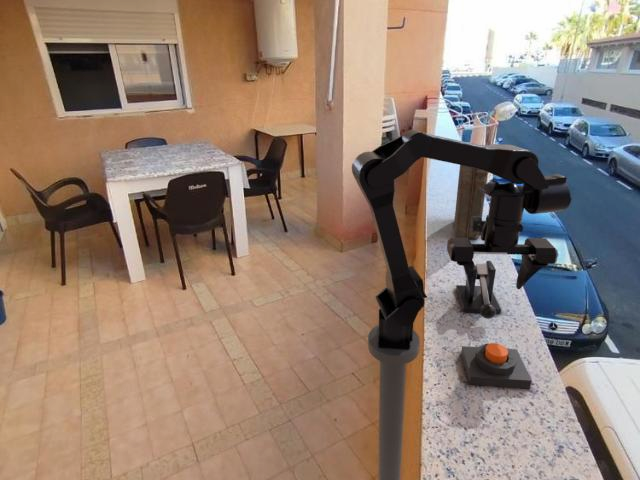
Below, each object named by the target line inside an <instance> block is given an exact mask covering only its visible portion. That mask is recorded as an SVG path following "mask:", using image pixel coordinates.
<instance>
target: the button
mask: <svg viewBox="0 0 640 480" xmlns="http://www.w3.org/2000/svg"><path fill="white" fill-rule="evenodd" d="M487 344H488V345H487V346H486V351H485V357H486V358H487V359H488V360H489V361H490V362H493V363H496V364H503V363H505V362H506V360H507V355H508V350H507V349H508V348H507V347H506V346H505V345H502V344H500V343H497V342H490V343H487ZM505 347H506V348H507V349H506V348H505Z"/></svg>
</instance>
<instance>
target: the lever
mask: <svg viewBox="0 0 640 480" xmlns="http://www.w3.org/2000/svg"><path fill="white" fill-rule="evenodd" d="M475 266H476V268H477V273H476V280H478V281H479V286H480V287H481V293H482V299H483V305H482V306H481V307H480V313H479V314H480V316H481V317H482V318H484V319H486V320H487V319H488V320H491V319H493V318H494V317H495V316H496V309H495V307H494V306H493V305H491V304H490V302H489V297H488V291H487V285H486V278H487V275H488V271H487V266H486V263H476V264H475Z"/></svg>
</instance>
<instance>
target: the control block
mask: <svg viewBox="0 0 640 480" xmlns="http://www.w3.org/2000/svg"><path fill="white" fill-rule="evenodd" d="M488 344H489V343H484V344H481V345H478V346H469V345H468V346H465V345H462V346H461V353H460V355H461V359H462V362H463V366H464V370H465V373H466V376H467V380H468V384H469V386H472V385H473V386H483V387H484V386H485V387H499V388H513V389H526V390H530V389H531V386H532V378H531V377H530V376H531V375H530V374H529V372H528V370H527V368H526V365H525V363H524V362H523V359H522V357H521V354H520V353H519V351H518V349H516V348H507V347H506V346H504V347H505V348H506V349H507V350H508V355H507V360H506V362H505V363H503V364H496V363H493V362H490V361H489V360H488V359H487V358H486V357H485V351H486V346H487V345H488Z"/></svg>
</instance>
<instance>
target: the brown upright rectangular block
mask: <svg viewBox="0 0 640 480" xmlns="http://www.w3.org/2000/svg"><path fill="white" fill-rule="evenodd" d="M458 171H459V172H458V182H457V189H456V190H457V191H456V201H455V210H454V220H453V221H454V224H453V235H454V237H455V238H469V239H479V238H480V236H479V232H471V231H470V219H471V216H479V217H482V218H483V214H484V206H485V198H486V194H485V193H483V192H481V191H480V188H481V187H483V186H484V185H485V184H487V183H488V175H489V174H490V173H489V172H487V171H485V170H482V169H478V168H473V167H468V166H463V165H459V170H458Z"/></svg>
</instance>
